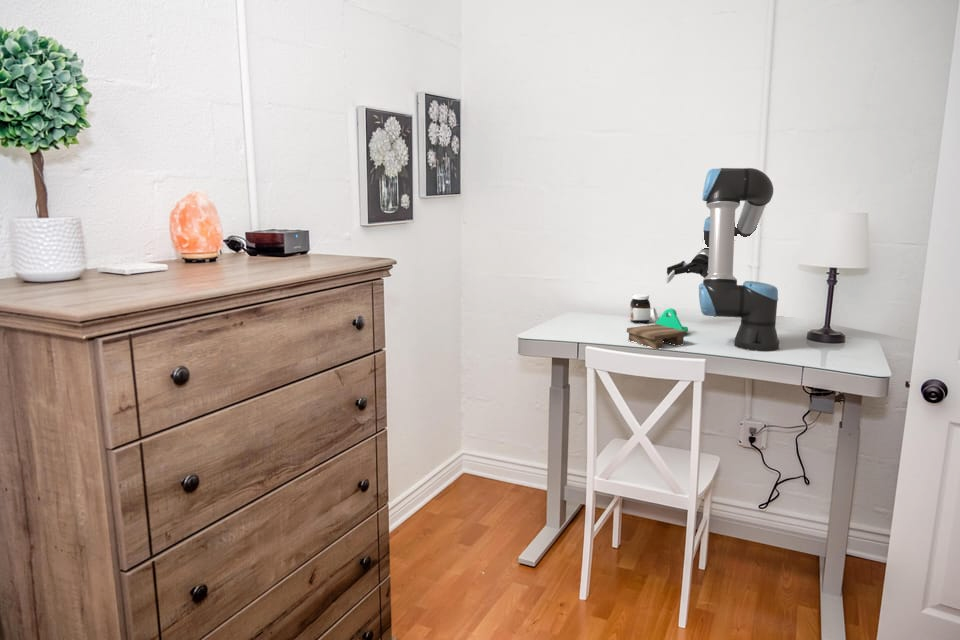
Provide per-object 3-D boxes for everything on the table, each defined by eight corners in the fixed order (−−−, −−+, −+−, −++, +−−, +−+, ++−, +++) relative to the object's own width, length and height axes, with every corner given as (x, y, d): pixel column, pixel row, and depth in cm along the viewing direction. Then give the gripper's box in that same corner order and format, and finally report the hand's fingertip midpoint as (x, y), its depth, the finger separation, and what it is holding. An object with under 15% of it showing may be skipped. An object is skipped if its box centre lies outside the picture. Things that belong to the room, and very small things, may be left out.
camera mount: (688, 333, 272) (689, 308, 270) (682, 337, 266) (684, 311, 263) (658, 330, 278) (660, 305, 276) (652, 333, 272) (653, 308, 270)
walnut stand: (685, 344, 253) (685, 331, 252) (654, 349, 246) (654, 335, 245) (656, 336, 265) (657, 324, 264) (626, 341, 259) (627, 328, 258)
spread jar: (627, 319, 298) (628, 293, 296) (653, 319, 299) (654, 293, 296) (635, 325, 286) (636, 298, 284) (661, 325, 287) (663, 297, 285)
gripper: (732, 275, 281) (714, 298, 267) (673, 263, 294) (653, 285, 280) (734, 259, 277) (716, 281, 263) (674, 248, 290) (654, 269, 276)
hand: (683, 283), depth 271 cm, fingers open, 13 cm apart
